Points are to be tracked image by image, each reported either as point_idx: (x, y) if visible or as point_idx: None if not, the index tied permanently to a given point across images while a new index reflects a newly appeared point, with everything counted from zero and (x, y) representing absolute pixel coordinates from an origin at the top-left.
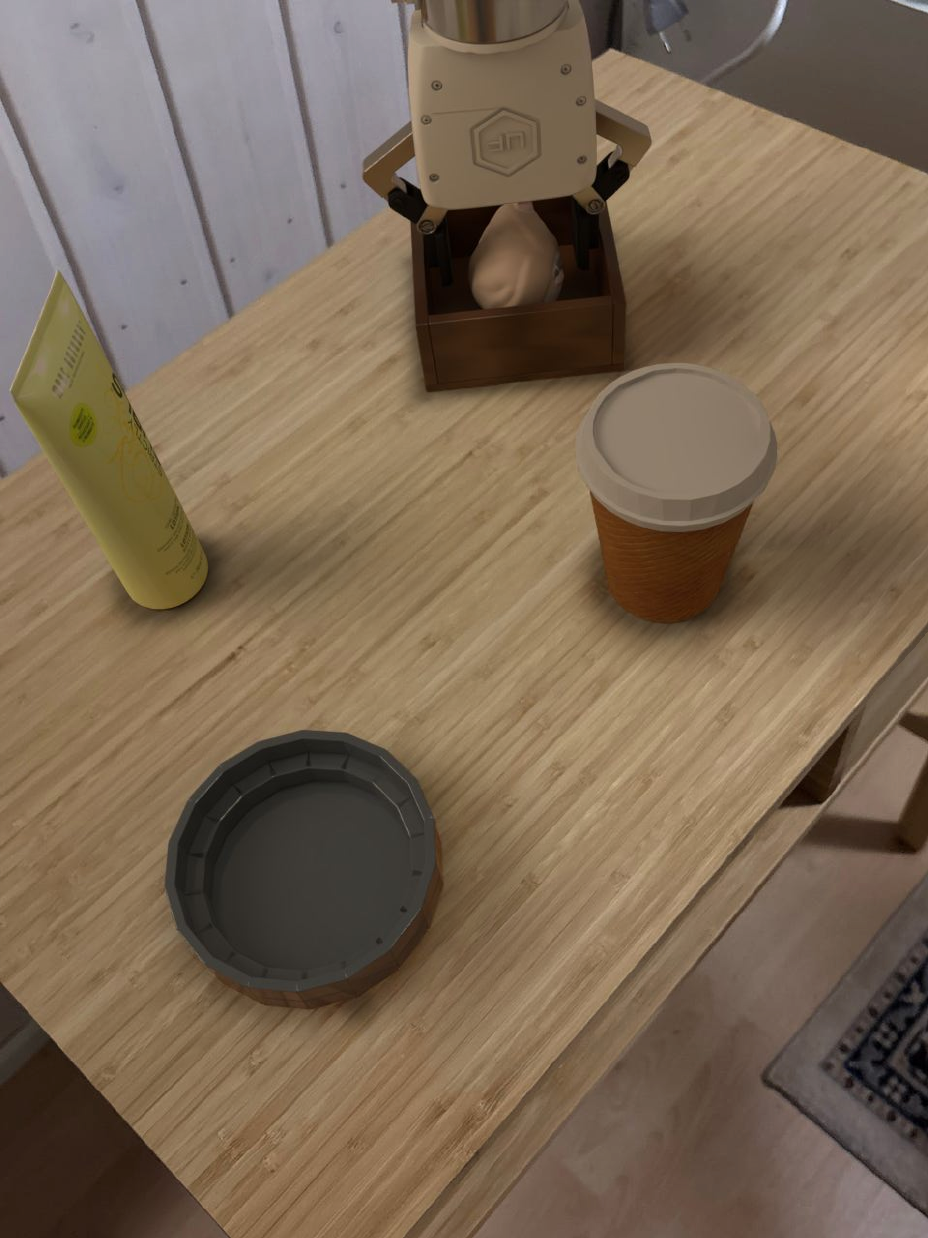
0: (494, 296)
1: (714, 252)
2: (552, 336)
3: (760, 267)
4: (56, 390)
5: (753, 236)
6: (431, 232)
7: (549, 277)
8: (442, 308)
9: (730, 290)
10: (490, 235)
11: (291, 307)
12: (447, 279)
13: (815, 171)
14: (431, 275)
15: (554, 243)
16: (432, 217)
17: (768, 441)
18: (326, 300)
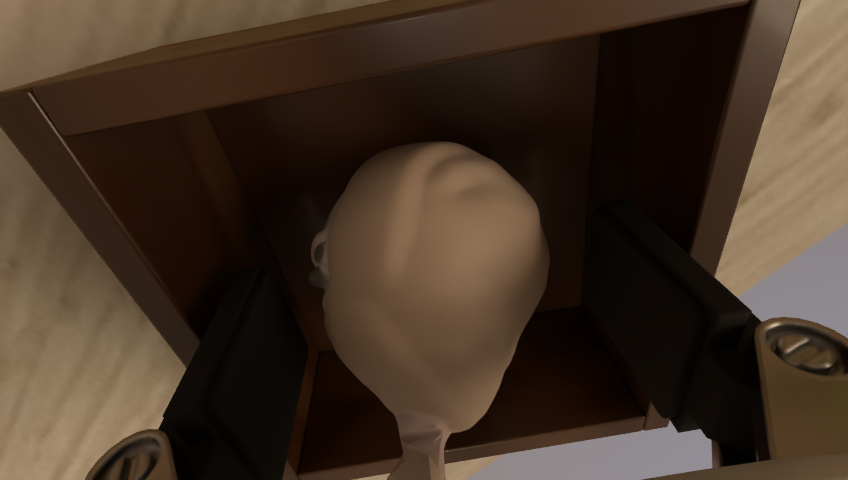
0: (482, 174)
1: (114, 346)
2: (292, 27)
3: (17, 324)
4: None
5: (67, 376)
6: (769, 326)
7: (332, 232)
8: (570, 203)
9: (41, 276)
10: (505, 341)
11: (828, 203)
12: (619, 209)
13: (42, 468)
14: (581, 276)
15: (328, 329)
16: (815, 388)
17: None
18: (762, 221)
